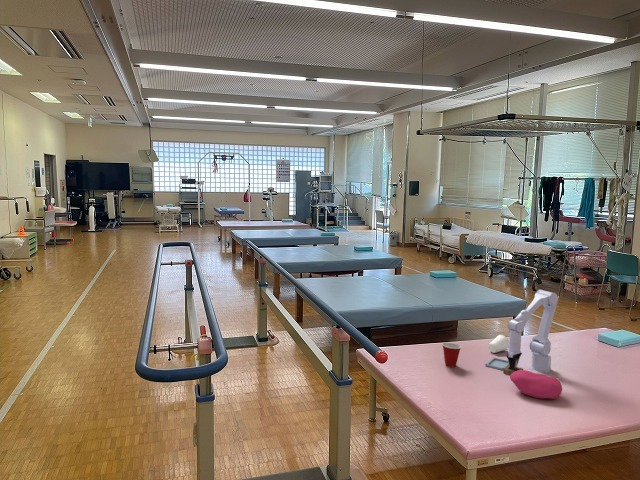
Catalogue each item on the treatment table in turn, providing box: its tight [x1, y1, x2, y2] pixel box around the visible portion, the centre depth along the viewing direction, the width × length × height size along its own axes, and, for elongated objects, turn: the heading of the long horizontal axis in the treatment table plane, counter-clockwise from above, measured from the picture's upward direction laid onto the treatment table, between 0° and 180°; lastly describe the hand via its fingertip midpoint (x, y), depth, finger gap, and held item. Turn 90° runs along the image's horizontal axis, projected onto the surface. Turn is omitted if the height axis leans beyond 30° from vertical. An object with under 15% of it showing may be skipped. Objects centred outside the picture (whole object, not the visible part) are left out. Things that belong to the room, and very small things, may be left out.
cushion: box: [509, 369, 563, 400], centre depth 227 cm, size 23×19×10 cm
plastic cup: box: [441, 342, 462, 368], centre depth 263 cm, size 11×11×12 cm
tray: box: [485, 357, 509, 371], centre depth 263 cm, size 10×14×2 cm
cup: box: [487, 334, 509, 354], centre depth 286 cm, size 10×10×11 cm
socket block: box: [502, 365, 524, 376], centre depth 252 cm, size 8×8×3 cm
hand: (513, 366), depth 252 cm, fingers open, 5 cm apart
